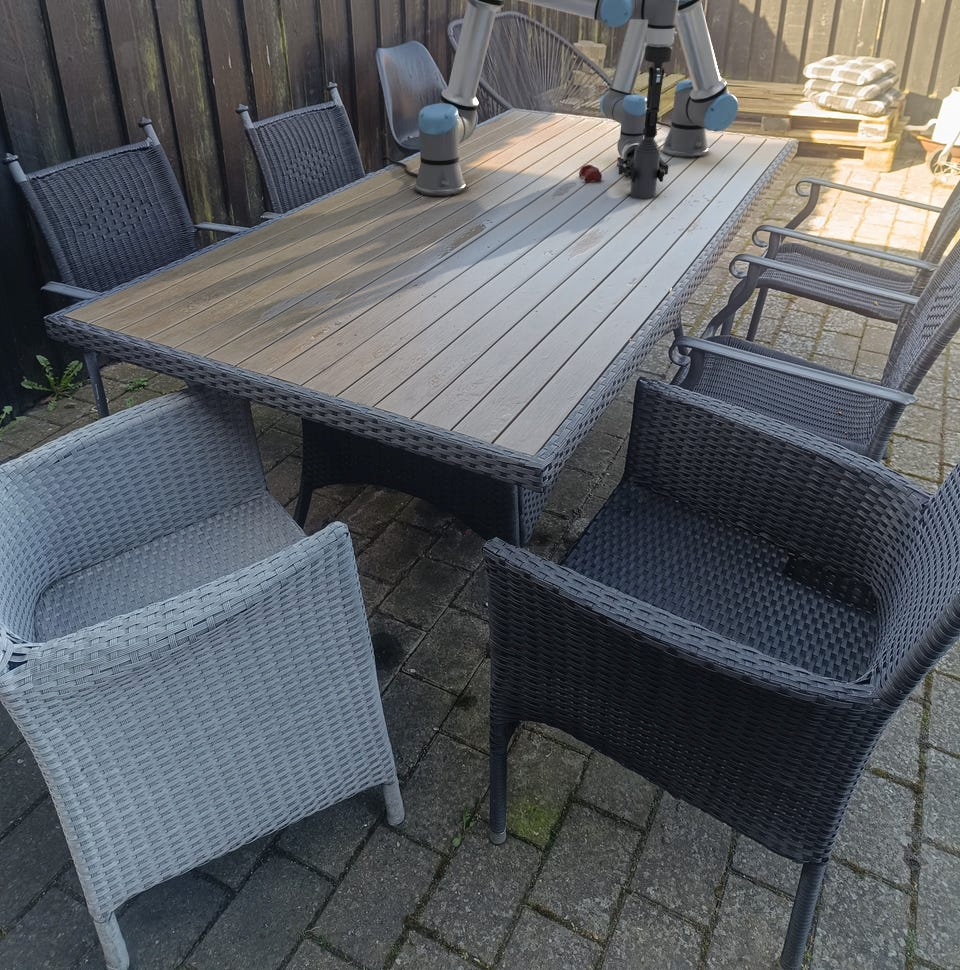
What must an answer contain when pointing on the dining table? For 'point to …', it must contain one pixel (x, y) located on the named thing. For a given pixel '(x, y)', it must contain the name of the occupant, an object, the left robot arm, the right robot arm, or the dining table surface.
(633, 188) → the bottle
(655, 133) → the cap
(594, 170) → the dental model
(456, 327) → the dining table surface
